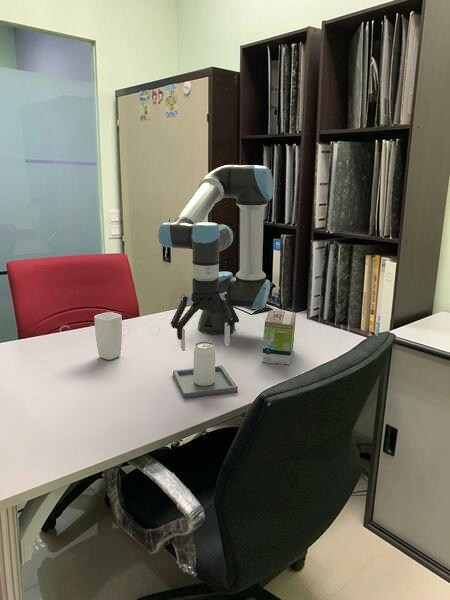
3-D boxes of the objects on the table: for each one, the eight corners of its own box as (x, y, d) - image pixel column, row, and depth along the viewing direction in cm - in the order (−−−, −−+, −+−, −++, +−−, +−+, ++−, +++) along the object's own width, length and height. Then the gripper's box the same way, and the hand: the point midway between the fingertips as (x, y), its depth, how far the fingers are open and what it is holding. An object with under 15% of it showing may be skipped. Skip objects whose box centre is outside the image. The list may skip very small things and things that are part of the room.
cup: (125, 356, 160) (123, 315, 156) (109, 363, 154) (107, 320, 150) (110, 351, 164) (108, 311, 160) (94, 357, 158) (92, 316, 154)
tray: (173, 375, 146) (173, 370, 146) (221, 370, 151) (221, 365, 150) (184, 399, 131) (184, 393, 131) (237, 392, 136) (237, 386, 136)
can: (193, 377, 144) (193, 341, 140) (214, 377, 144) (214, 341, 141) (193, 386, 137) (194, 349, 134) (215, 386, 138) (216, 349, 135)
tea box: (290, 365, 156) (293, 324, 152) (261, 362, 158) (263, 321, 154) (293, 349, 170) (296, 311, 166) (266, 347, 172) (268, 308, 168)
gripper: (164, 283, 125) (166, 356, 131) (251, 278, 132) (248, 347, 138) (159, 277, 132) (161, 346, 138) (242, 272, 139) (240, 338, 145)
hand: (205, 346), depth 138 cm, fingers open, 13 cm apart
